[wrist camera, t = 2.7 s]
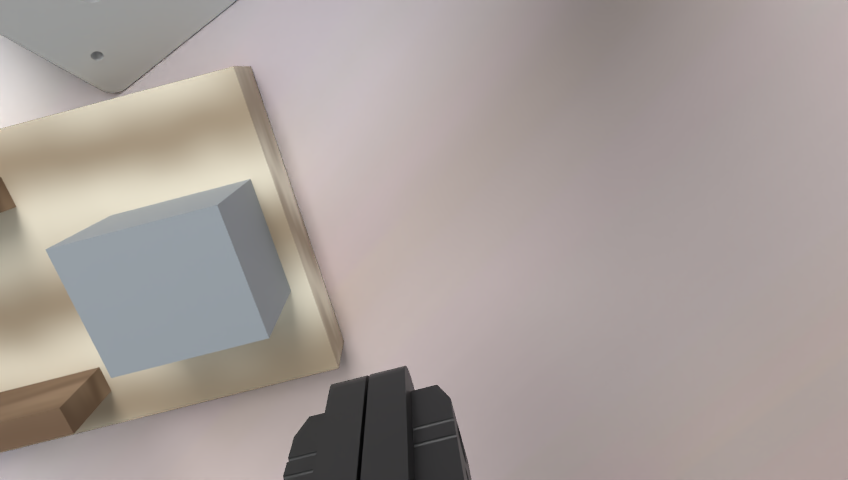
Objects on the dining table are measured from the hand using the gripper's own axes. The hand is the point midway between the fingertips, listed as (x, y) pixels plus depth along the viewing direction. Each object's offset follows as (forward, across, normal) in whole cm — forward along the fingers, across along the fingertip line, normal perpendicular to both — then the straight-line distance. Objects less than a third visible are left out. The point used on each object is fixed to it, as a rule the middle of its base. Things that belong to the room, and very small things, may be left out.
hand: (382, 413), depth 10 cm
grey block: (+16, +10, 0) cm, 19 cm away
